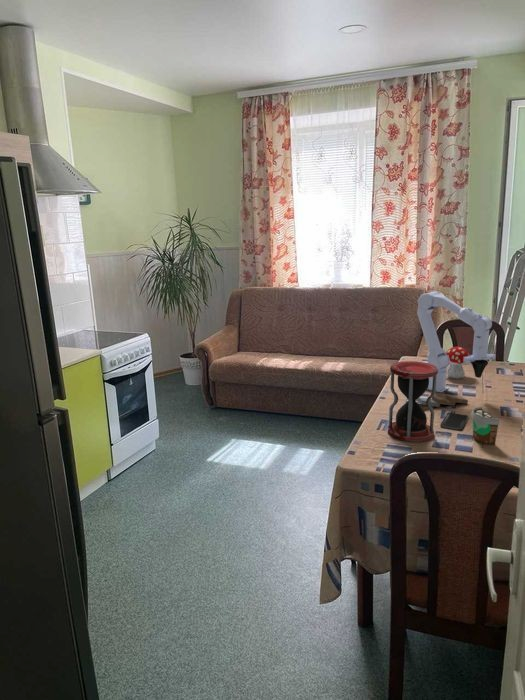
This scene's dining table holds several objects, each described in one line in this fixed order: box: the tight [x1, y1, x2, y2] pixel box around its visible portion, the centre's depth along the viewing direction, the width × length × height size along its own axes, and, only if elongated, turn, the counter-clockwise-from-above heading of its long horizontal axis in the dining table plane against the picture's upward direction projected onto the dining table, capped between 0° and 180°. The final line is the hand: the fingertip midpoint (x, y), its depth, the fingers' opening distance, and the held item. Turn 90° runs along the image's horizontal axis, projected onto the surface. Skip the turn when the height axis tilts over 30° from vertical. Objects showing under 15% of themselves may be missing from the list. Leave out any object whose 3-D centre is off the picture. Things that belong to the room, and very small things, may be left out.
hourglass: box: [387, 360, 438, 443], centre depth 183 cm, size 16×16×25 cm
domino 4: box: [443, 393, 469, 405], centre depth 214 cm, size 2×5×8 cm
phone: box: [439, 412, 469, 432], centre depth 195 cm, size 8×1×15 cm
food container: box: [470, 406, 500, 446], centre depth 178 cm, size 12×6×10 cm, turn 5°
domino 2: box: [418, 403, 434, 411], centre depth 210 cm, size 2×5×8 cm
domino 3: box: [431, 395, 457, 407], centre depth 212 cm, size 2×5×8 cm
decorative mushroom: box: [445, 346, 472, 380], centre depth 248 cm, size 14×14×15 cm
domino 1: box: [416, 396, 441, 408], centre depth 211 cm, size 2×5×8 cm
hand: (477, 376), depth 218 cm, fingers closed
